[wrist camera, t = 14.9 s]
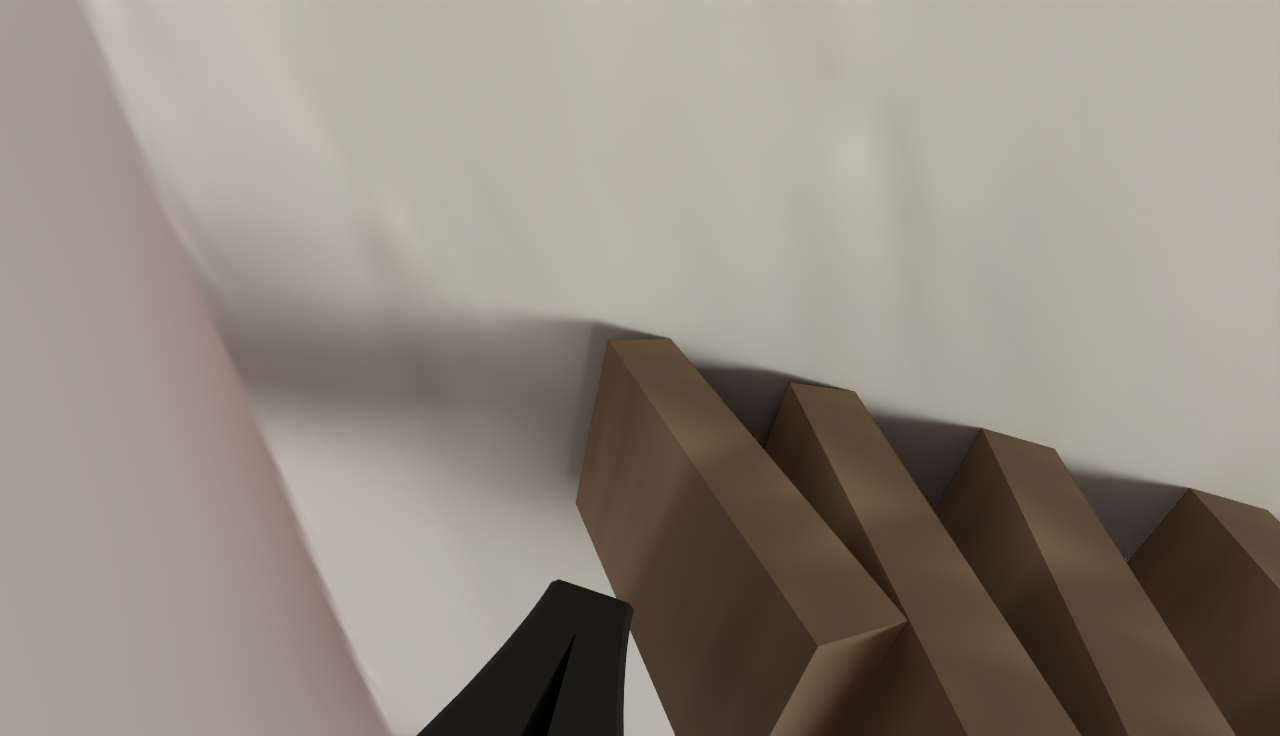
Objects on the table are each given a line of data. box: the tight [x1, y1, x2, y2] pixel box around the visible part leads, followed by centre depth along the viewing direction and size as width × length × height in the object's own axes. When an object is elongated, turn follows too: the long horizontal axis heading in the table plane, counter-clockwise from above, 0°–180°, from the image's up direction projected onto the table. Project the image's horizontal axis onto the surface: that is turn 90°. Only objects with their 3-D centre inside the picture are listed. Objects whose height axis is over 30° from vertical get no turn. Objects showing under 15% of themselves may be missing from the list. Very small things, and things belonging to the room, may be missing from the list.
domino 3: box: [934, 428, 1236, 736], centre depth 12 cm, size 2×5×8 cm, turn 169°
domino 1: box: [576, 339, 908, 736], centre depth 13 cm, size 2×5×8 cm
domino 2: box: [764, 382, 1081, 736], centre depth 12 cm, size 2×5×8 cm, turn 168°
